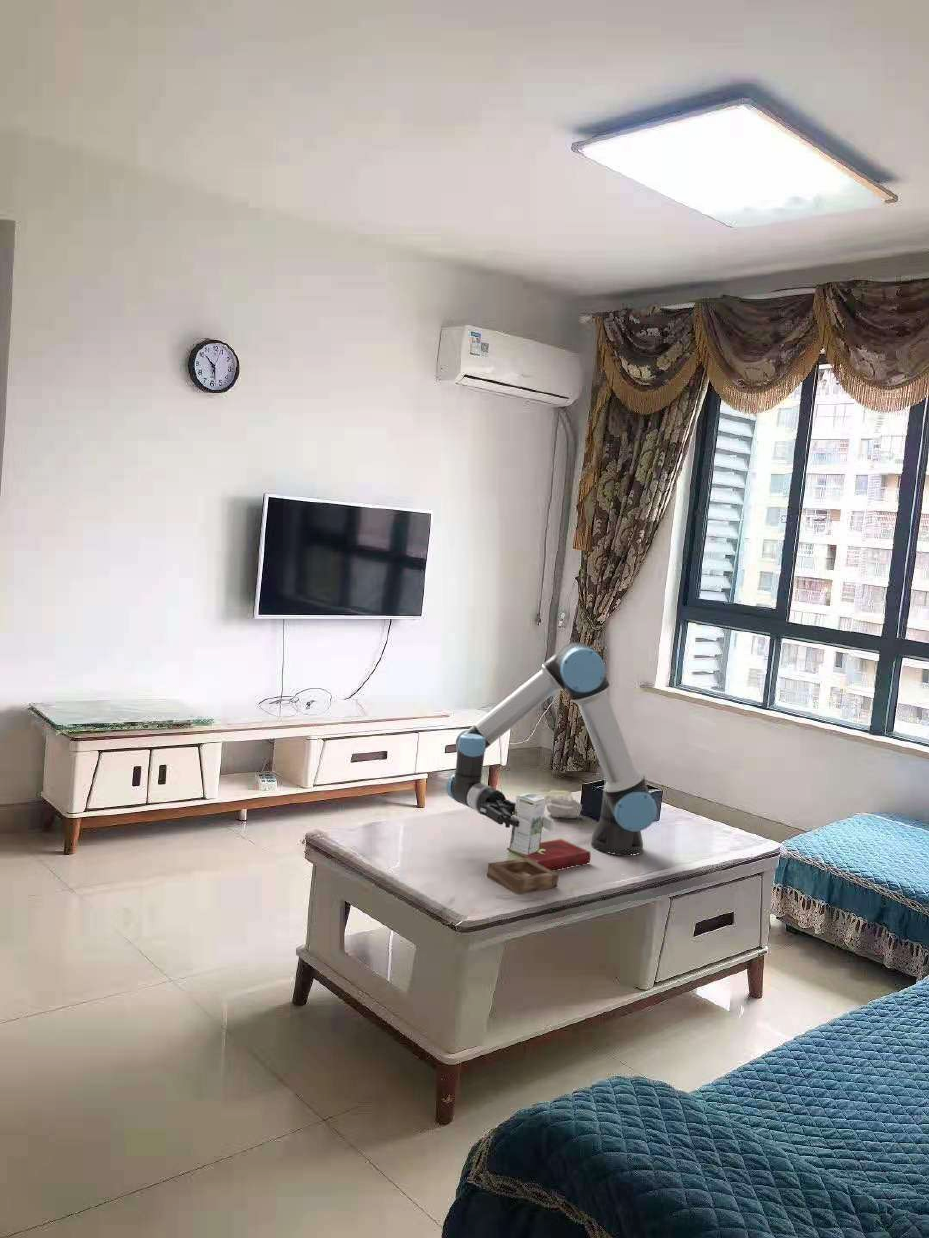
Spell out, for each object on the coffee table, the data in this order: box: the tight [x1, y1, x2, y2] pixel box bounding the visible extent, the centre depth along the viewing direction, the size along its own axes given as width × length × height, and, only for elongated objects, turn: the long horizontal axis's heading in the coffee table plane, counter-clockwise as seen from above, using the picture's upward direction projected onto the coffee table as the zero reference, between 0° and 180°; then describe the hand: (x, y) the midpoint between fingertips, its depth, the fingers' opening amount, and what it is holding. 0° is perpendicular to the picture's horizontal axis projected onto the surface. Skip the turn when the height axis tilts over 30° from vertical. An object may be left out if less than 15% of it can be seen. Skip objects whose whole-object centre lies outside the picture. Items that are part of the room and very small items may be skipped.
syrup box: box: [508, 792, 546, 855], centre depth 264 cm, size 6×6×14 cm
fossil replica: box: [543, 789, 583, 819], centre depth 330 cm, size 12×8×10 cm
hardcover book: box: [506, 838, 592, 872], centre depth 283 cm, size 12×21×4 cm, turn 130°
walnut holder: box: [486, 858, 560, 895], centre depth 265 cm, size 13×13×4 cm
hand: (540, 826), depth 260 cm, fingers closed on syrup box, 7 cm apart
